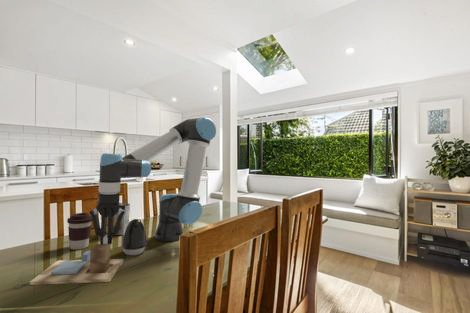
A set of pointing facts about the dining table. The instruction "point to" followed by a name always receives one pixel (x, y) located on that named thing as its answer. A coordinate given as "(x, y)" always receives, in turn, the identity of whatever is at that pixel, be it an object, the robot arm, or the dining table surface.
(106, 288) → the dining table surface
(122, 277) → the dining table surface
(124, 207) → the coffee box
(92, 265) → the block
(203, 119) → the robot arm
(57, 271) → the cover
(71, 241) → the coffee cup
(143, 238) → the dark grey rounded dome
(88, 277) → the board
